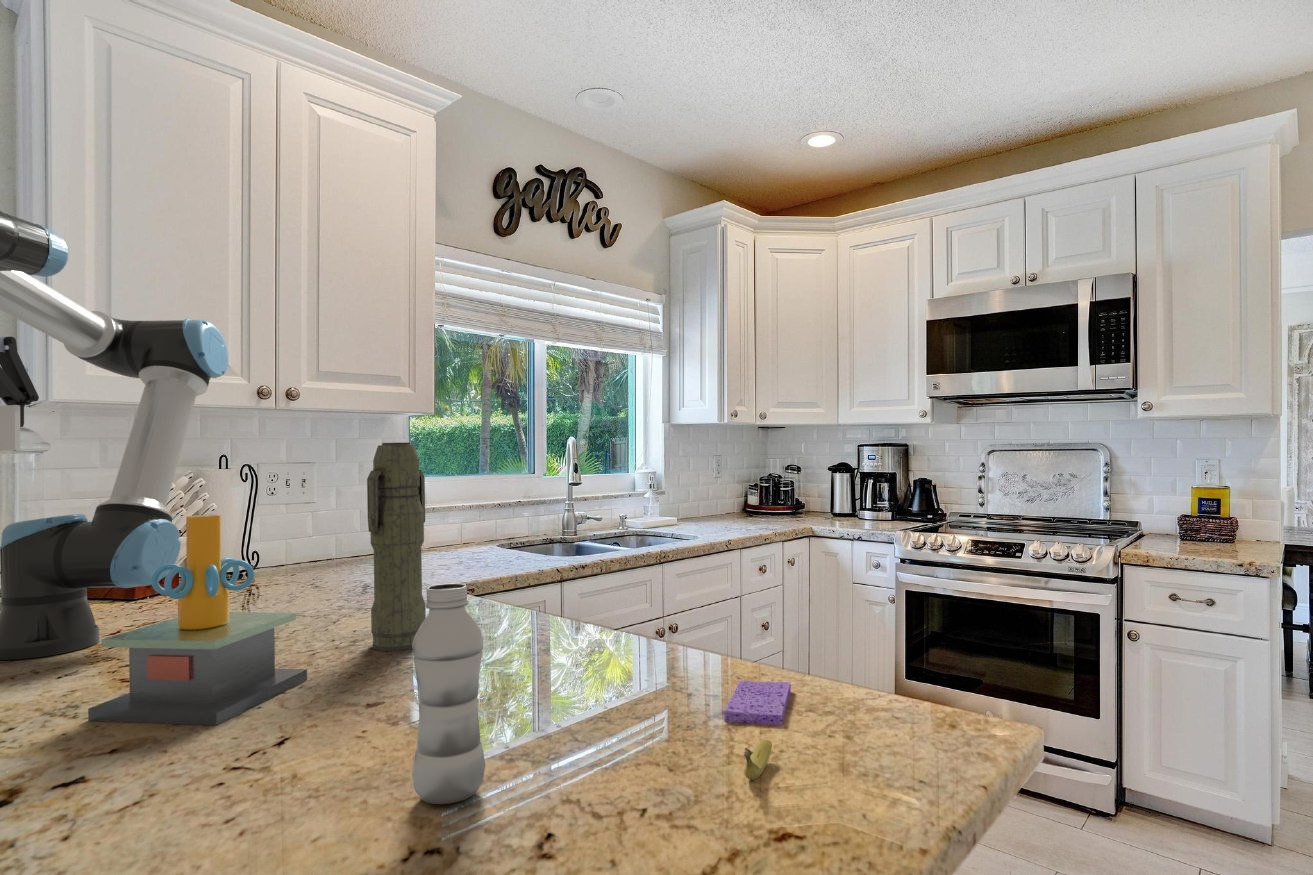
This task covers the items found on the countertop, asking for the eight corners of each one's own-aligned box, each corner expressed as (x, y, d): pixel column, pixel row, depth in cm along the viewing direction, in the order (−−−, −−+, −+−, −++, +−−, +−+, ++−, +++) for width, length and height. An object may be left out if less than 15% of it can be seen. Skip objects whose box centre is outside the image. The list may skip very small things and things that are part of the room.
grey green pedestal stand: (197, 676, 110) (196, 610, 110) (307, 679, 108) (306, 611, 108) (88, 720, 92) (87, 641, 93) (216, 725, 90) (215, 643, 90)
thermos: (441, 637, 131) (438, 442, 132) (398, 655, 120) (395, 442, 120) (400, 634, 134) (397, 443, 134) (354, 651, 123) (351, 443, 123)
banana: (757, 794, 69) (756, 751, 69) (739, 791, 70) (738, 749, 70) (774, 759, 77) (773, 720, 77) (757, 756, 77) (756, 719, 77)
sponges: (723, 726, 88) (723, 710, 88) (739, 691, 100) (739, 677, 100) (782, 730, 86) (782, 714, 86) (791, 694, 98) (791, 680, 98)
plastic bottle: (421, 783, 72) (418, 582, 73) (490, 779, 73) (487, 579, 73) (404, 816, 66) (401, 594, 66) (480, 811, 67) (476, 591, 67)
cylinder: (199, 638, 93) (199, 520, 93) (132, 635, 95) (132, 519, 95) (269, 616, 105) (269, 512, 105) (208, 614, 107) (208, 511, 107)
